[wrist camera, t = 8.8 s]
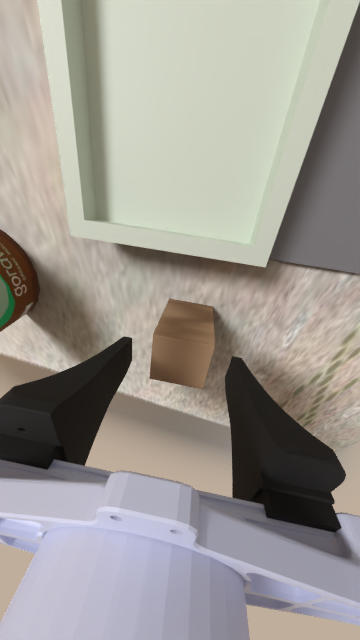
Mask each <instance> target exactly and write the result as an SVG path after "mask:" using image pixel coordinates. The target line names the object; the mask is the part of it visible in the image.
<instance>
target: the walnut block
mask: <svg viewBox="0 0 360 640" xmlns="http://www.w3.org/2000/svg"><path fill="white" fill-rule="evenodd" d="M214 349H215V333H214V317H213V306H207V305H202V304H196V303H191V302H185V301H179V300H174V299H169V301H168V303H167V305H166V308H165V310H164V312H163V314H162V316H161V318H160V321H159V323H158V325H157V327H156V329H155V332H154V334H153V344H152V356H151V368H150V379H155V380H160V381H165V382H170V383H175V384H180V385H185V386H190V387H195V388H200V389H203V387H204V383H205V380H206V376H207V373H208V369H209V366H210V363H211V359H212V356H213V352H214Z"/></svg>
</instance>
